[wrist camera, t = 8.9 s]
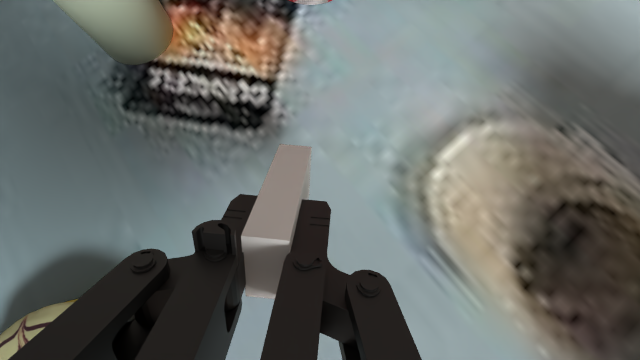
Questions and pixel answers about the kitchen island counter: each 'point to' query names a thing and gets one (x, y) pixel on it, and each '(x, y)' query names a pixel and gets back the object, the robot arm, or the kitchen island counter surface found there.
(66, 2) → the sage post
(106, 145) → the kitchen island counter surface
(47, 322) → the decorated donut
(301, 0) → the soda can
